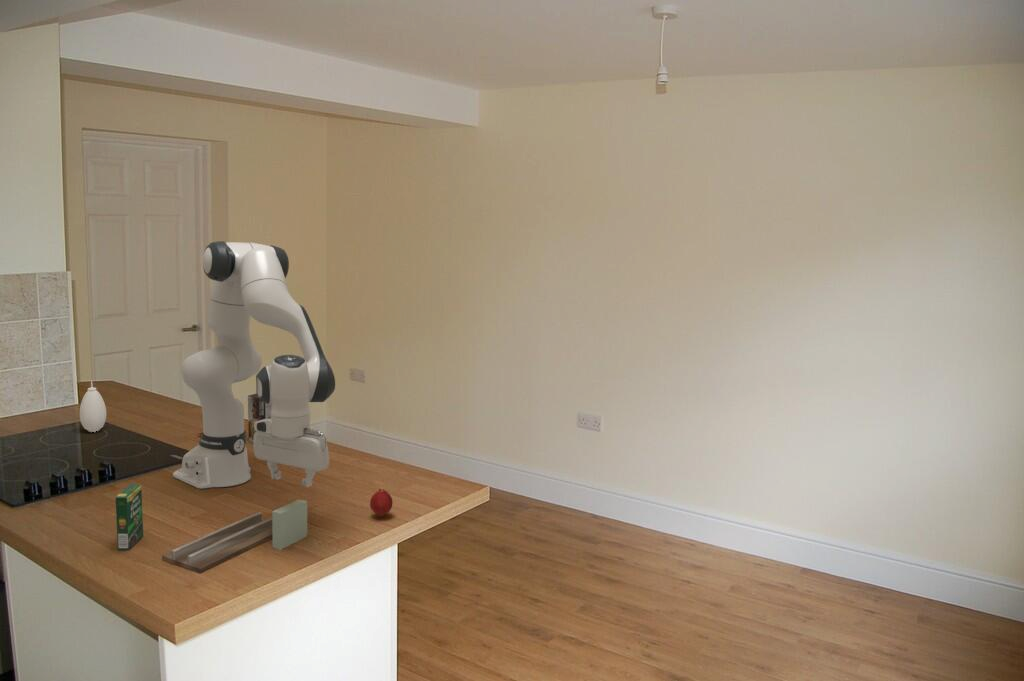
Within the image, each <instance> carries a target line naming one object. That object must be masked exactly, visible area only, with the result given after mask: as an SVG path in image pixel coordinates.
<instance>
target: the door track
mask: <svg viewBox="0 0 1024 681" xmlns="http://www.w3.org/2000/svg"><path fill="white" fill-rule="evenodd" d="M262 516H263V515H262V512H260V511H258V512H256V513H254V514H251V515H248V516H247V517H245V518H244V517H243V518H242V519H240V520H237V521H235V522H233V523H230V524H228V525H227V526H224V527H221V528H219V529H217V530H215V531H212V532H210V533H207V534H206V535H203V536H202V537H201V536H200V537H199V538H196V539H195V540H191V541H190V542H187V543H185V544H183V545H181V546H179V547H175V548H173V549H172V550H171V551H170V552H167V553H165V554H164V555H161V560H162V561H164V562H167V563H171V565H172V564H173V565H175V566H178V567H182V568H185V569H187V570H191V571H193V572H196V573H200V574H202V573H204V572H206V571H208V570H210V569H212V568H214V567H217V566H219V565H221V564H222V563H224V562H226V561H228V559H229V560H231V559H233V558H235V557H236V556H239V555H240V554H243V553H245V552H247V551H249V550H251V549H252V548H255V547H258V546H259V545H261V544H263V543H265V542H267V541H269V540H271V539H273V534H272V516H271V517H269V518H267V519H264V520H262V519H263V517H262ZM234 556H235V557H234ZM232 557H233V558H232Z"/></svg>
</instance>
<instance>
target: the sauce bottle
mask: <svg viewBox="0 0 1024 681" xmlns="http://www.w3.org/2000/svg"><path fill="white" fill-rule="evenodd" d="M90 380H91V379H90ZM79 420H80V421H79V422H80V424H81V425H82V427H83V429H84V430H87V432H89V433H92V432H94V433H97V432H99V431H100V430H101V429H102V428H103V427H104V426H105V423H106V420H107V407H106V404H105V401H104V399H103V396H102V395H101V393H100V392H99V391H98V389H97V387H94V384H93V380H91V381H90V387H88V388H87V391H86V392H85V394H84V395H83V397H82V399H81V403H80V408H79ZM96 431H97V432H96Z"/></svg>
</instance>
